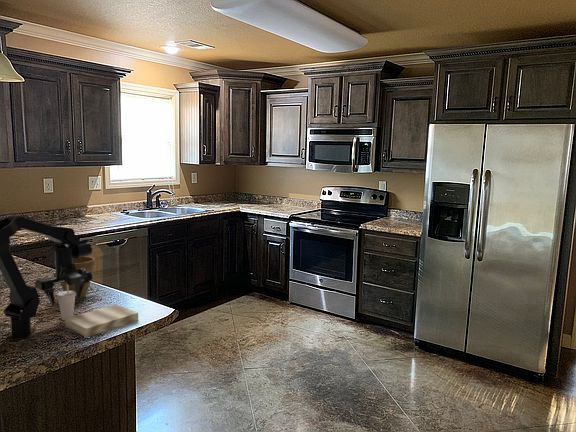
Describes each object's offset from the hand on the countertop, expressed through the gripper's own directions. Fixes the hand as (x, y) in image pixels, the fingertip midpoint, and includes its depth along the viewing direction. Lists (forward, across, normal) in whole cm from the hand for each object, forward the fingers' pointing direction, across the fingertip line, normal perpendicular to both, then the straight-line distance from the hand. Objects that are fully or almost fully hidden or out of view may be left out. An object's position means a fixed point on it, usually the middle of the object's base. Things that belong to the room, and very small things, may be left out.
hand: (65, 302), depth 164 cm
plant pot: (+6, +15, +21) cm, 26 cm away
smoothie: (+6, 0, -1) cm, 6 cm away
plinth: (+6, +6, -15) cm, 17 cm away
